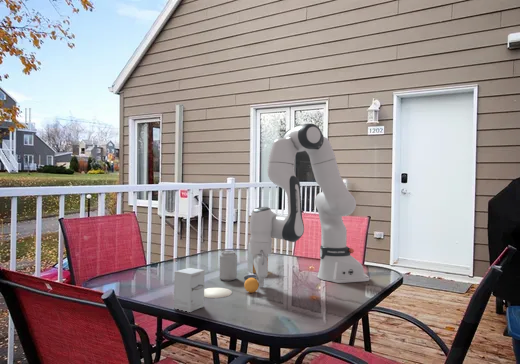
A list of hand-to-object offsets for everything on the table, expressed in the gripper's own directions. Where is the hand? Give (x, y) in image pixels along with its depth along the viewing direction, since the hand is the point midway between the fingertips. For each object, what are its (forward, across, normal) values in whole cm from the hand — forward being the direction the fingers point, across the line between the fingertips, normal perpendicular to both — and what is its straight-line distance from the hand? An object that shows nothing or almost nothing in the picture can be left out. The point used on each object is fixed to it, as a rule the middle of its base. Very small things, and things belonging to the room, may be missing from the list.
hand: (259, 283), depth 152 cm
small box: (+3, +31, -2) cm, 31 cm away
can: (+3, +17, +12) cm, 21 cm away
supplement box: (+3, -21, +26) cm, 33 cm away
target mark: (+3, -4, +18) cm, 18 cm away
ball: (0, -4, +4) cm, 5 cm away
